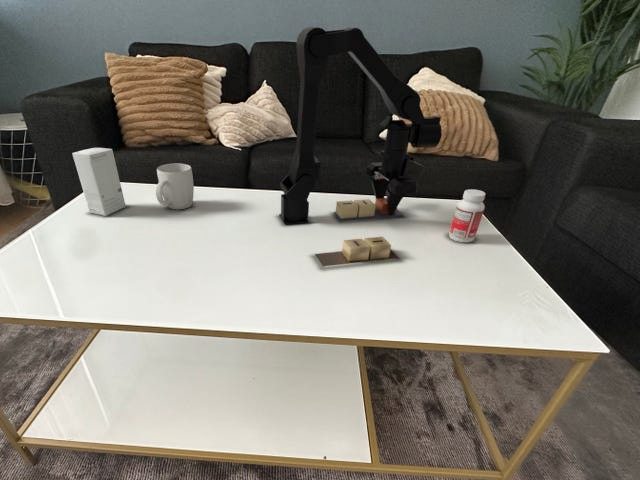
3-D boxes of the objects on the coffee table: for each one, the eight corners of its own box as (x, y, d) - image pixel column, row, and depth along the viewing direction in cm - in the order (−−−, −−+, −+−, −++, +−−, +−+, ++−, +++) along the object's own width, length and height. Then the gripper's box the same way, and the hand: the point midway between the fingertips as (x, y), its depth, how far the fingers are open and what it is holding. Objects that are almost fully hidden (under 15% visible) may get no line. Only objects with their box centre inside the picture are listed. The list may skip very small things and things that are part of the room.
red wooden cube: (380, 215, 110) (382, 203, 108) (374, 209, 113) (375, 198, 111) (396, 214, 111) (398, 202, 109) (388, 208, 114) (390, 197, 112)
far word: (340, 221, 107) (342, 208, 105) (333, 213, 112) (334, 200, 109) (402, 216, 111) (405, 203, 109) (392, 209, 115) (395, 195, 113)
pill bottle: (470, 233, 103) (484, 188, 96) (477, 243, 98) (493, 197, 91) (445, 232, 103) (458, 187, 96) (451, 242, 99) (465, 196, 92)
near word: (322, 268, 87) (324, 252, 85) (314, 256, 92) (315, 240, 89) (398, 260, 91) (402, 245, 88) (387, 249, 95) (390, 234, 93)
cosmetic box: (105, 216, 107) (89, 155, 97) (88, 213, 109) (70, 152, 99) (127, 206, 113) (113, 147, 103) (110, 203, 114) (94, 145, 105)
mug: (176, 198, 119) (170, 161, 112) (202, 203, 116) (197, 165, 109) (148, 212, 110) (140, 173, 103) (175, 218, 107) (169, 178, 101)
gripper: (444, 156, 97) (428, 220, 107) (407, 138, 110) (396, 197, 120) (401, 158, 94) (389, 224, 104) (369, 140, 108) (361, 199, 118)
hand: (385, 210), depth 112 cm, fingers open, 7 cm apart
